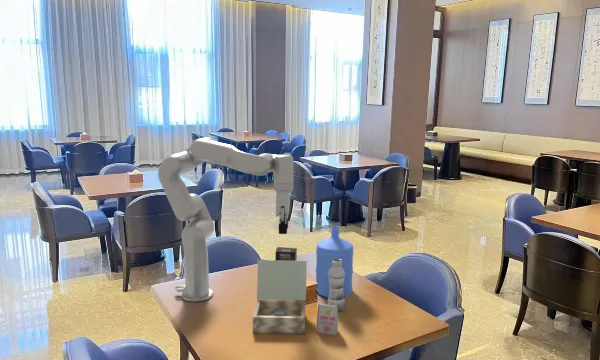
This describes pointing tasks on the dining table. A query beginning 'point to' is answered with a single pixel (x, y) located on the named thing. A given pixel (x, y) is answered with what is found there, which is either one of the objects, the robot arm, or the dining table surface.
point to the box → (279, 317)
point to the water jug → (325, 255)
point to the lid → (281, 280)
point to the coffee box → (286, 254)
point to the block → (280, 312)
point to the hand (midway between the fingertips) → (283, 230)
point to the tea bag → (327, 319)
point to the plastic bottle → (336, 284)
